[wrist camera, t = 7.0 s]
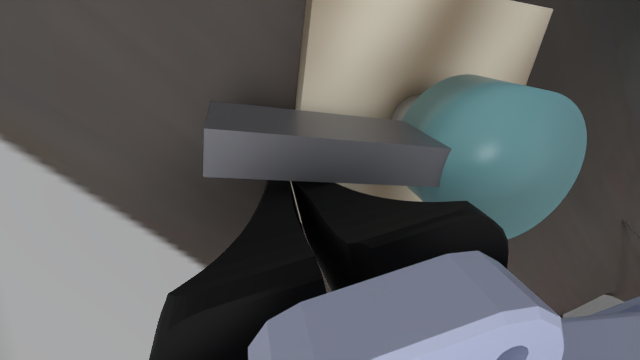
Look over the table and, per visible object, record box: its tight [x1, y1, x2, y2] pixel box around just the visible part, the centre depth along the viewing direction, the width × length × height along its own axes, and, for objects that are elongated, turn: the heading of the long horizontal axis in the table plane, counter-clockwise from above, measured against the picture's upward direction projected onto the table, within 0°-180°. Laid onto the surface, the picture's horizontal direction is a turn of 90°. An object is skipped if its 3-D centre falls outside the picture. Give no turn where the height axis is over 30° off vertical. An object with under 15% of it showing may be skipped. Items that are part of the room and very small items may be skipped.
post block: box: [290, 0, 553, 223], centre depth 15 cm, size 11×11×4 cm
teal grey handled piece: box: [203, 74, 587, 239], centre depth 11 cm, size 12×5×3 cm, turn 81°
